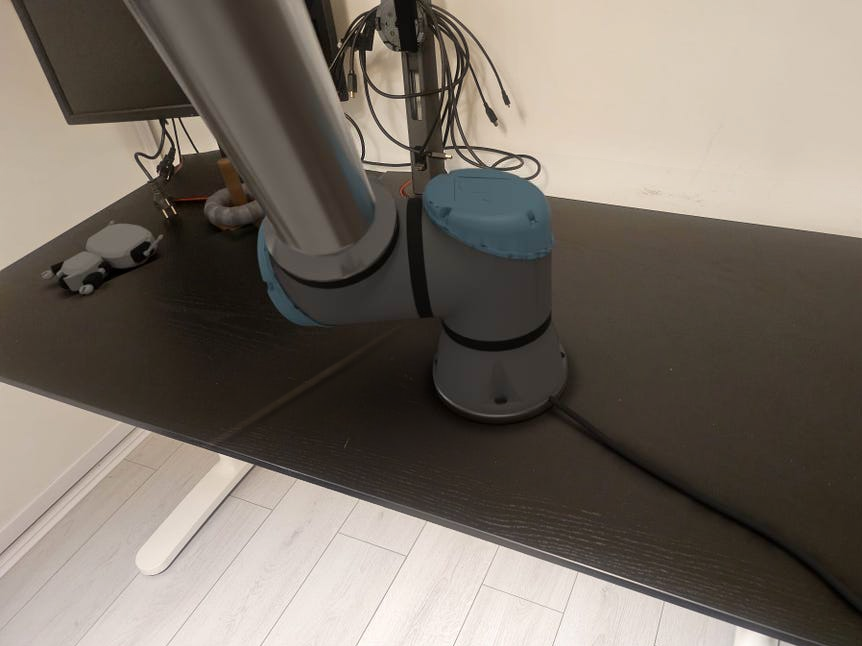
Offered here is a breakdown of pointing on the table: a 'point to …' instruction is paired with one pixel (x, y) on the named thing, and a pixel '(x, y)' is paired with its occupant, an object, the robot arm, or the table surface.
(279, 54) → the robot arm
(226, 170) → the stand
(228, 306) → the table surface
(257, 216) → the ring
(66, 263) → the robot toy
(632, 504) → the table surface
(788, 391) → the table surface
